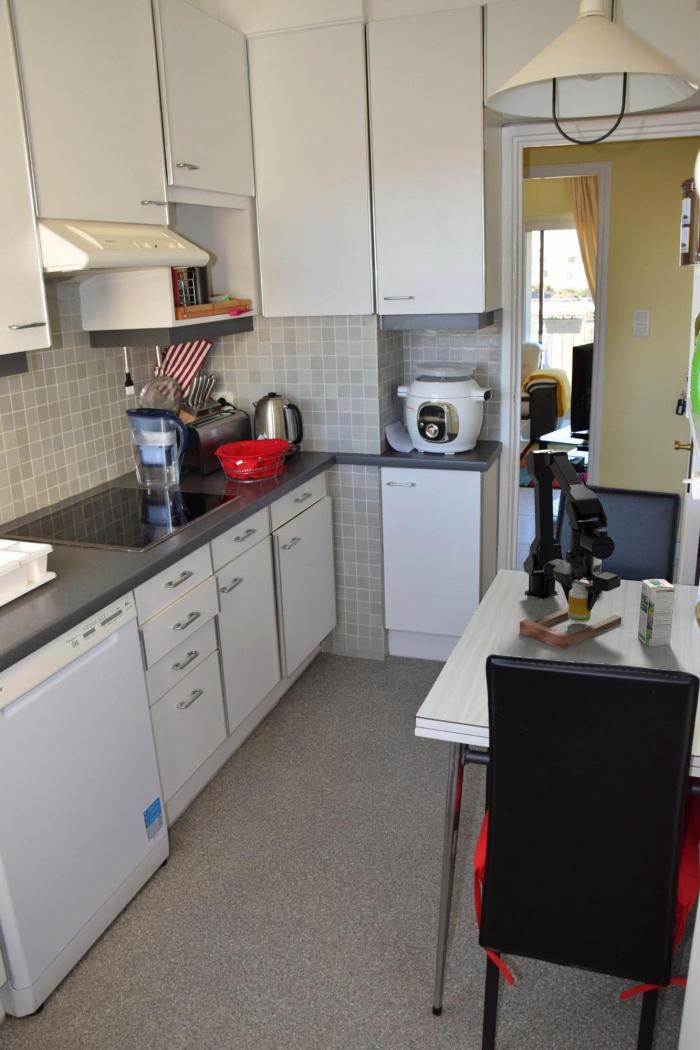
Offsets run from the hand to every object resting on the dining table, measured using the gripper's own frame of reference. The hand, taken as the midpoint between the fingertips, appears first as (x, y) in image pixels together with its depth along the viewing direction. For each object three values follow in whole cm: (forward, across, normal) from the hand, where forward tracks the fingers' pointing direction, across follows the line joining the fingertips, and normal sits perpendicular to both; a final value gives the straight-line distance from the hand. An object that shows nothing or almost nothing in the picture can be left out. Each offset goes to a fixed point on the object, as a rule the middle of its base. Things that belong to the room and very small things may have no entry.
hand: (579, 607), depth 208 cm
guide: (+4, 0, -2) cm, 5 cm away
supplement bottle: (+3, 0, 0) cm, 3 cm away
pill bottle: (+5, -15, +26) cm, 30 cm away
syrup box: (+5, +18, +4) cm, 19 cm away
